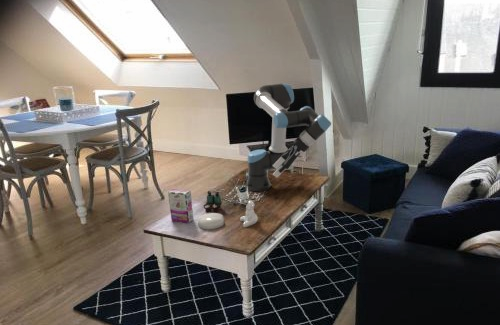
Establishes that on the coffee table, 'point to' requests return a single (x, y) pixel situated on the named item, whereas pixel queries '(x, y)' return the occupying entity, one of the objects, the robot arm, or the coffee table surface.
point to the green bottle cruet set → (213, 202)
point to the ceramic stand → (210, 221)
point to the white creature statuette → (249, 215)
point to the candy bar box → (180, 206)
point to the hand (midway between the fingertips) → (274, 171)
